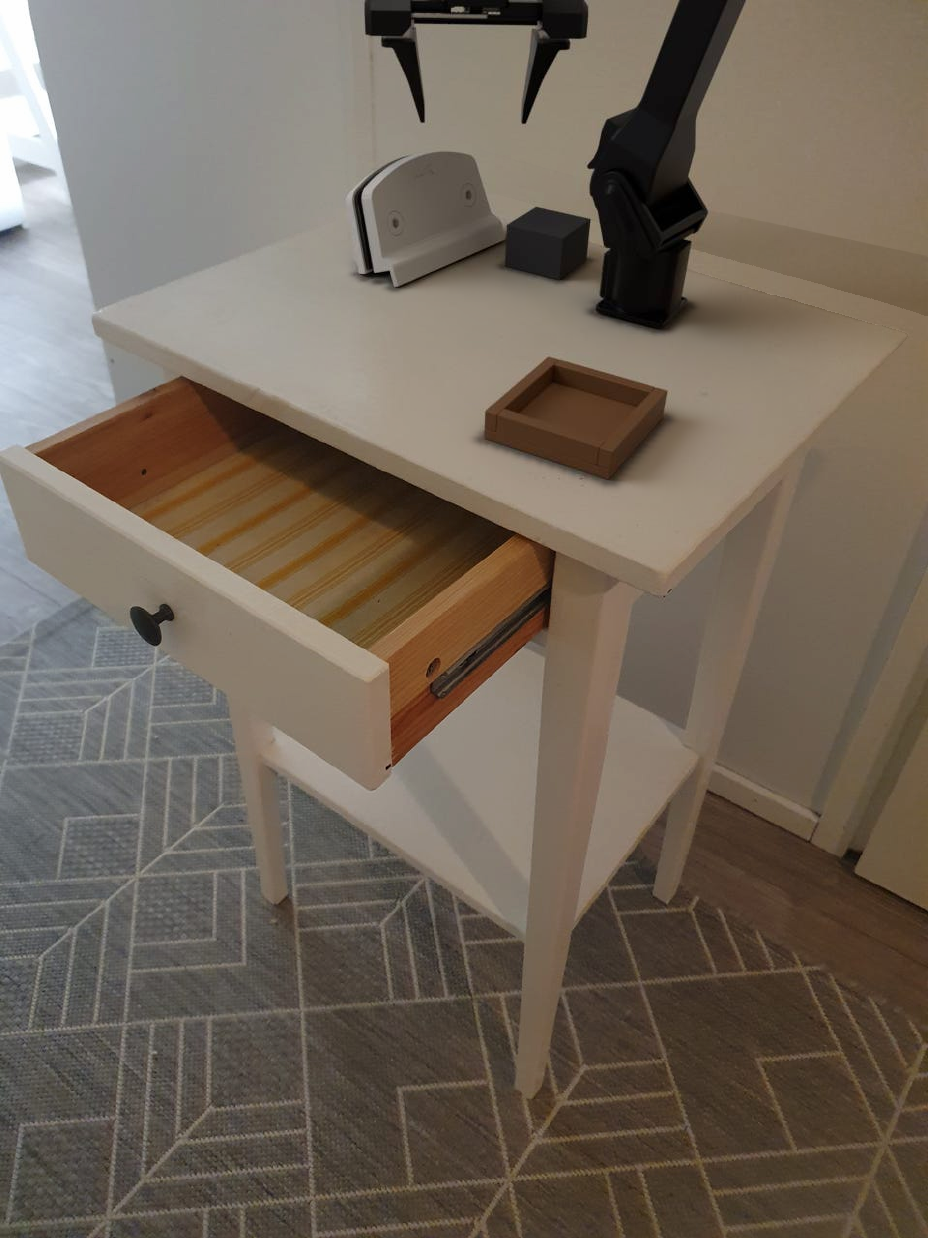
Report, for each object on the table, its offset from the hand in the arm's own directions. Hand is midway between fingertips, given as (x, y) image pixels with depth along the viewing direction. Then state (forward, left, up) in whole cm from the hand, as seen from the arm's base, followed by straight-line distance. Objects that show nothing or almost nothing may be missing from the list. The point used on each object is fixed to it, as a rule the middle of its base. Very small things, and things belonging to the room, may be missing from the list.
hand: (473, 122), depth 88 cm
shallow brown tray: (-23, +24, -12) cm, 36 cm away
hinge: (+4, +2, -12) cm, 13 cm away
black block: (-7, -2, -12) cm, 14 cm away
